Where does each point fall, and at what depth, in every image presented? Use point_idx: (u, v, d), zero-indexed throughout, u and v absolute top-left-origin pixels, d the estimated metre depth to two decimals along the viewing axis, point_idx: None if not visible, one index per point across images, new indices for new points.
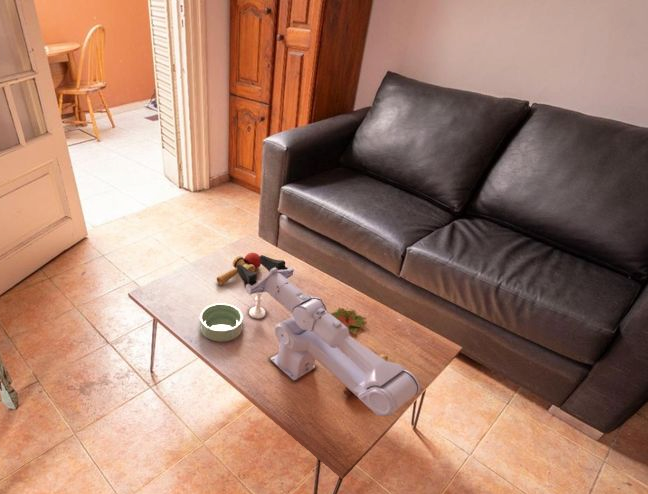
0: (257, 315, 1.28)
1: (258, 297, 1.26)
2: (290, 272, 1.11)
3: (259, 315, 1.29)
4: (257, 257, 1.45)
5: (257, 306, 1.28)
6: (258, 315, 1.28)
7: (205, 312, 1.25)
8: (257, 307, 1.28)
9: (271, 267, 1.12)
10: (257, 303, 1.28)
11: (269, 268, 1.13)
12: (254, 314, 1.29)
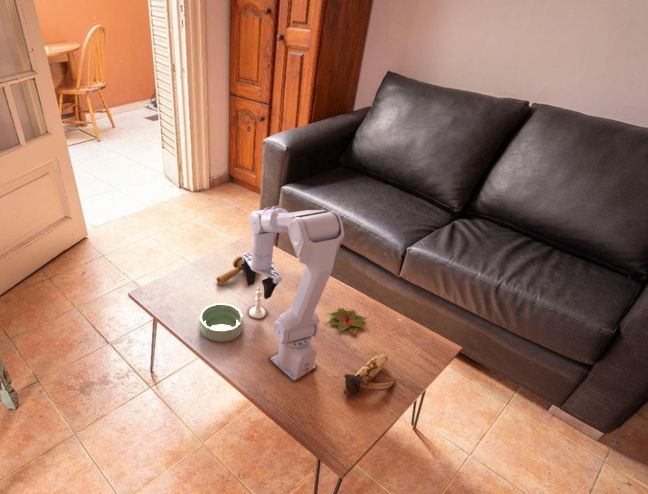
0: (257, 315, 1.28)
1: (258, 297, 1.26)
2: (276, 275, 1.16)
3: (259, 315, 1.29)
4: None
5: (257, 306, 1.28)
6: (258, 315, 1.28)
7: (205, 312, 1.25)
8: (257, 307, 1.28)
9: None
10: (257, 303, 1.28)
11: None
12: (254, 314, 1.29)
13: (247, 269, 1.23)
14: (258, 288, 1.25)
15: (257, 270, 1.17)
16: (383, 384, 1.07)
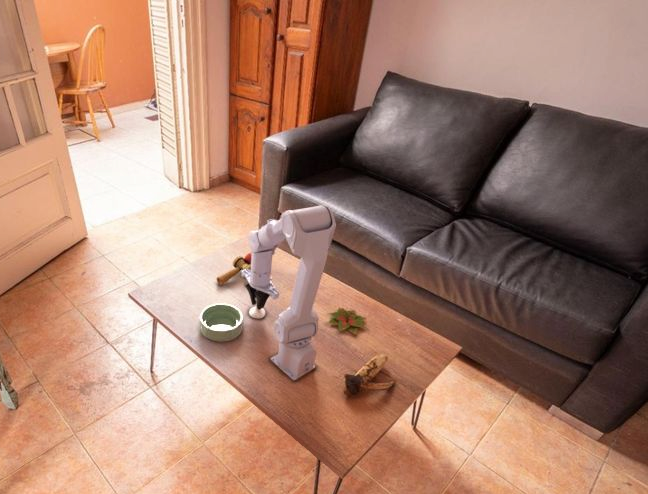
0: (257, 315, 1.28)
1: None
2: (275, 292, 1.19)
3: (259, 315, 1.29)
4: None
5: None
6: (258, 315, 1.28)
7: (205, 312, 1.25)
8: None
9: None
10: None
11: None
12: (254, 314, 1.29)
13: (252, 290, 1.25)
14: None
15: (256, 286, 1.21)
16: (383, 384, 1.07)
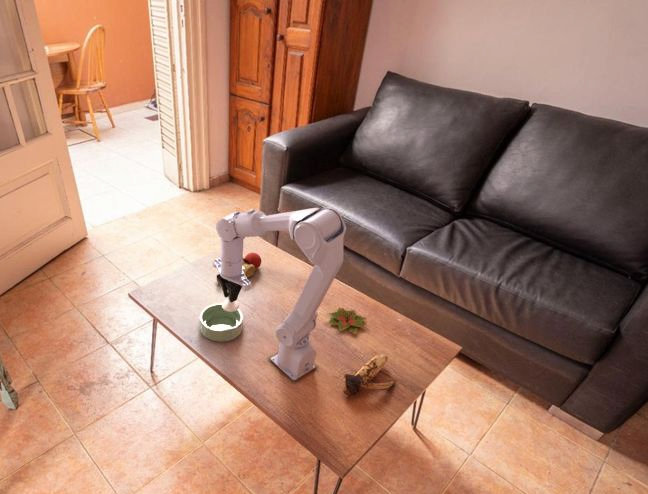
0: (230, 308, 1.20)
1: None
2: (246, 283, 1.10)
3: (232, 308, 1.20)
4: (257, 257, 1.45)
5: None
6: (231, 308, 1.20)
7: (205, 312, 1.25)
8: None
9: None
10: None
11: None
12: (226, 307, 1.20)
13: (223, 280, 1.16)
14: None
15: (226, 277, 1.12)
16: (383, 384, 1.07)
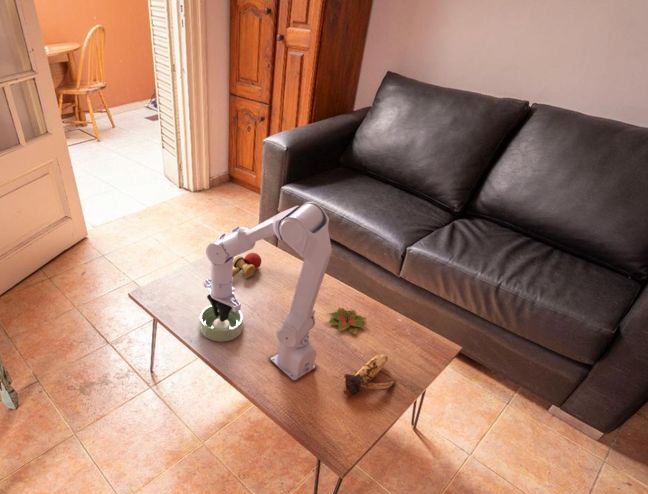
0: (220, 327, 1.22)
1: None
2: (236, 304, 1.13)
3: (222, 327, 1.22)
4: (257, 257, 1.45)
5: None
6: (221, 327, 1.22)
7: (205, 312, 1.25)
8: None
9: None
10: None
11: None
12: (217, 326, 1.22)
13: (214, 301, 1.18)
14: None
15: (217, 298, 1.14)
16: (383, 384, 1.07)
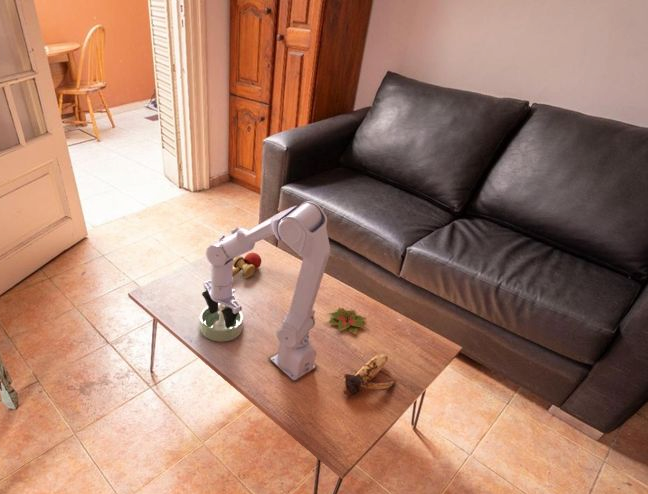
0: (220, 329, 1.23)
1: None
2: (236, 306, 1.13)
3: (222, 329, 1.23)
4: (257, 257, 1.45)
5: (220, 320, 1.22)
6: (221, 329, 1.23)
7: (205, 312, 1.25)
8: (220, 321, 1.23)
9: None
10: (220, 317, 1.22)
11: None
12: (217, 328, 1.23)
13: (208, 298, 1.20)
14: None
15: (217, 300, 1.15)
16: (383, 384, 1.07)
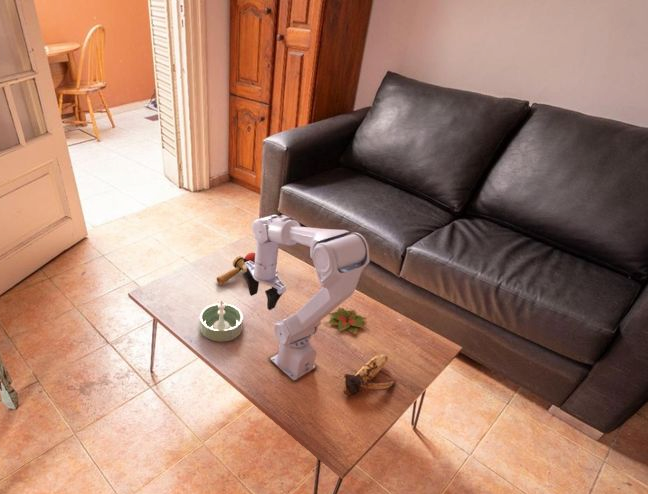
0: (220, 329, 1.23)
1: (221, 311, 1.20)
2: (281, 286, 1.09)
3: (222, 329, 1.23)
4: None
5: (220, 320, 1.22)
6: (221, 329, 1.23)
7: (205, 312, 1.25)
8: (220, 321, 1.23)
9: None
10: (220, 317, 1.22)
11: None
12: (217, 328, 1.23)
13: (250, 279, 1.16)
14: (220, 301, 1.19)
15: (260, 280, 1.10)
16: (383, 384, 1.07)
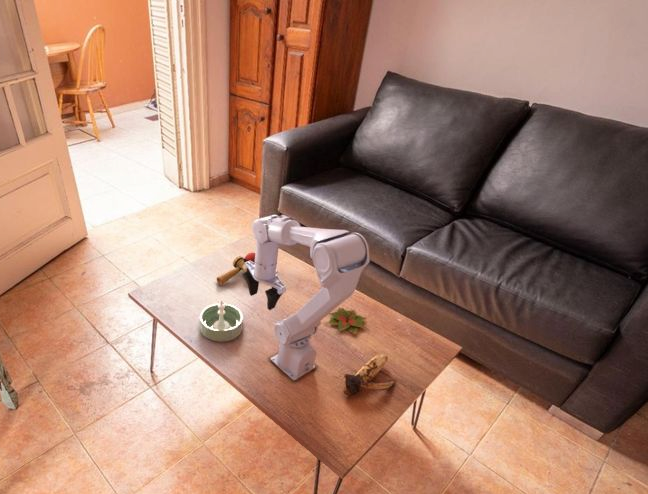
0: (220, 329, 1.23)
1: (221, 311, 1.20)
2: (281, 286, 1.09)
3: (222, 329, 1.23)
4: None
5: (220, 320, 1.22)
6: (221, 329, 1.23)
7: (205, 312, 1.25)
8: (220, 321, 1.23)
9: None
10: (220, 317, 1.22)
11: None
12: (217, 328, 1.23)
13: (250, 279, 1.16)
14: (220, 301, 1.19)
15: (260, 280, 1.10)
16: (383, 384, 1.07)
